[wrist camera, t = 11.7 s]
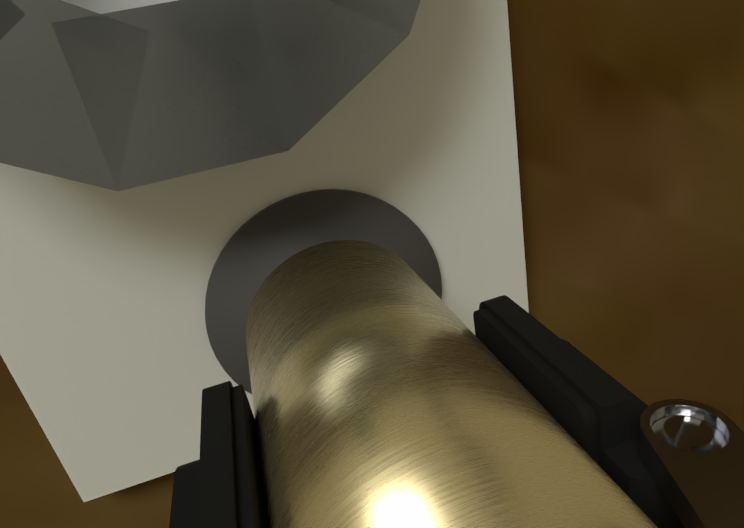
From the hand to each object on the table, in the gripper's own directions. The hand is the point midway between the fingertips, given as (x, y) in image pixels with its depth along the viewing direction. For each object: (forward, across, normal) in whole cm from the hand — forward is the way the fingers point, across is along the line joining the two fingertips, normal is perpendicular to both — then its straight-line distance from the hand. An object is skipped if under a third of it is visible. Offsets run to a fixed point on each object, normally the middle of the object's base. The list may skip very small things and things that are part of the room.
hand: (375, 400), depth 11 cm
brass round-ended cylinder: (+3, 0, 0) cm, 3 cm away
